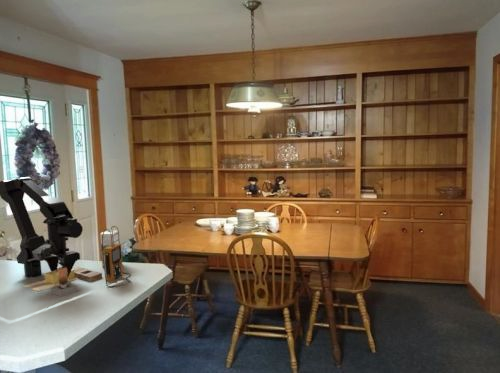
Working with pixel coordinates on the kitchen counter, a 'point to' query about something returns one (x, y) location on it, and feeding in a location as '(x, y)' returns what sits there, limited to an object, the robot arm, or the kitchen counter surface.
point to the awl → (63, 277)
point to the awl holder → (62, 292)
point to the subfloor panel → (43, 285)
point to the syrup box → (108, 241)
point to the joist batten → (86, 274)
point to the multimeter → (113, 261)
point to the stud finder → (56, 276)
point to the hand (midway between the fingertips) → (60, 276)
